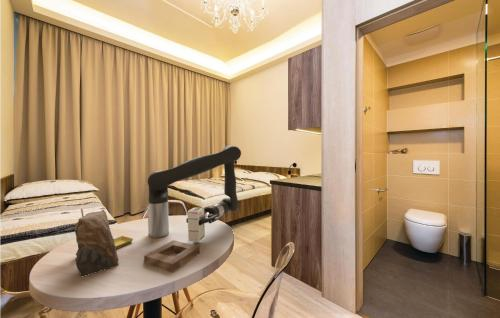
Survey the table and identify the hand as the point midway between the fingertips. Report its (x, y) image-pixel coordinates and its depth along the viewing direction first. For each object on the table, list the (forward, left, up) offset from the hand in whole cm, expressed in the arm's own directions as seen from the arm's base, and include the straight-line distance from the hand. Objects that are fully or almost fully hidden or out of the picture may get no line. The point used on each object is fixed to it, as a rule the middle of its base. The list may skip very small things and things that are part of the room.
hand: (193, 222), depth 94 cm
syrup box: (0, +2, -9) cm, 9 cm away
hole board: (0, -13, -11) cm, 17 cm away
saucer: (-33, -13, -11) cm, 37 cm away
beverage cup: (-36, -26, -11) cm, 45 cm away
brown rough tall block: (-21, -29, -11) cm, 37 cm away
